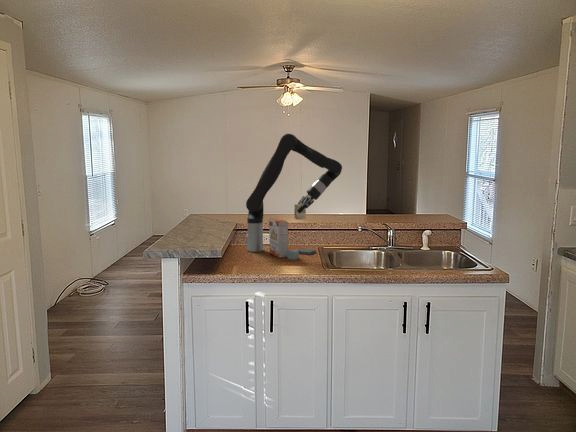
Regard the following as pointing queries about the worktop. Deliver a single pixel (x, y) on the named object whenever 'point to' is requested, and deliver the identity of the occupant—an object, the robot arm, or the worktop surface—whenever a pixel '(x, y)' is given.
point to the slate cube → (293, 254)
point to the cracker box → (278, 237)
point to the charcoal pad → (306, 251)
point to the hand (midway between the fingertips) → (296, 211)
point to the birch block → (296, 213)
